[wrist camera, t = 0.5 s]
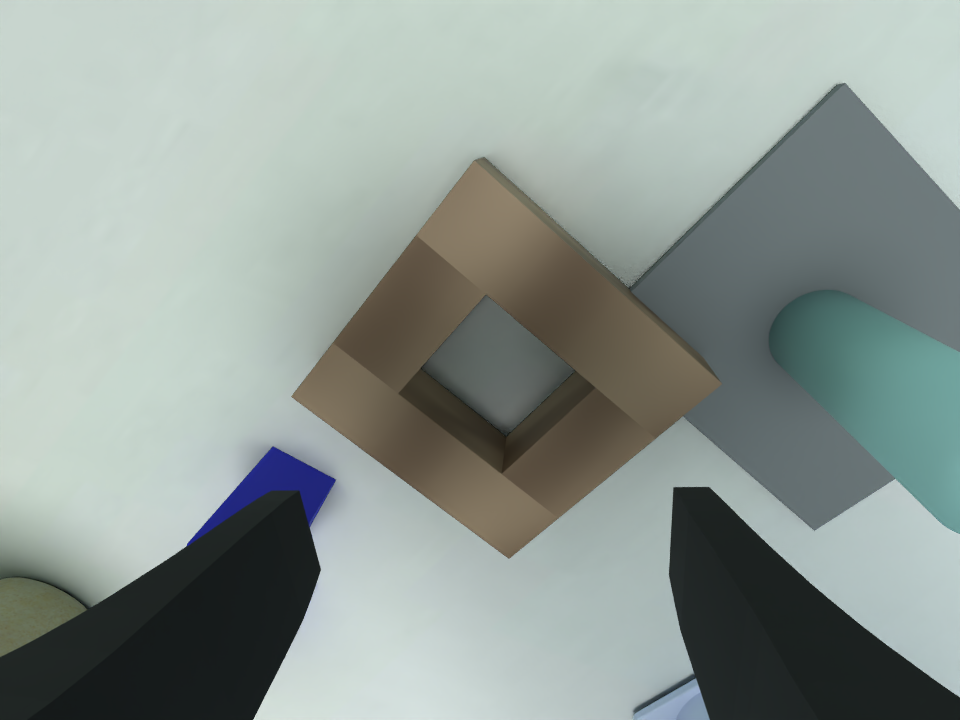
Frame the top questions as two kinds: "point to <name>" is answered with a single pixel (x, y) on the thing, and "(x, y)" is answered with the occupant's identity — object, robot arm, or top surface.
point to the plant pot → (31, 611)
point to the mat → (800, 270)
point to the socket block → (547, 315)
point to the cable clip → (274, 487)
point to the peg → (880, 389)
